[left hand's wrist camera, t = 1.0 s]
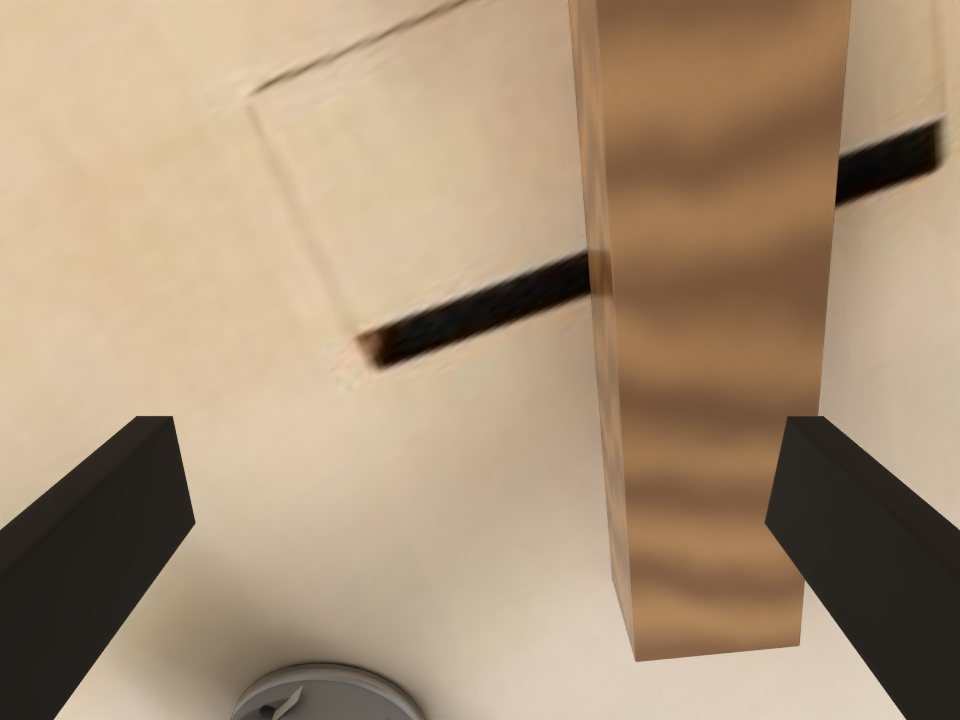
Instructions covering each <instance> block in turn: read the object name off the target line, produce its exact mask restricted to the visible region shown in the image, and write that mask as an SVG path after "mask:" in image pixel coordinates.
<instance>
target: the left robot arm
mask: <svg viewBox="0 0 960 720" xmlns="http://www.w3.org/2000/svg"><path fill="white" fill-rule="evenodd" d="M194 525H195V518H194V514H193V509H192V504H191V500H190V495H189V490H188V486H187V481H186V476H185V472H184V467H183V462H182V458H181V453H180V448H179V444H178V439H177V435H176V430H175V425H174V421H173V416H136V417H135V418H134V419H133V420H132V421H130V422H129V423H128V424H127V425H126V426H124V427H123V428H122V429H121V430H120V431H118V432H117V433H116V434H115V435H114V436H112V437H111V438H110V439H109V440H108V441H106V442H105V443H104V444H103V445H102V446H100V447H99V448H98V449H97V450H96V451H94V452H93V453H92V454H91V455H90V456H88V457H87V458H86V459H85V460H84V461H82V462H81V463H80V464H79V465H78V466H76V467H75V468H74V469H73V470H72V471H70V472H69V473H68V474H67V475H66V476H64V477H63V478H62V479H61V480H60V481H59V482H57V483H56V484H55V485H54V486H53V487H51V488H50V489H49V490H48V491H47V492H45V493H44V494H43V495H42V496H41V497H39V498H38V499H37V500H36V501H35V502H33V503H32V504H31V505H30V506H29V507H27V508H26V509H25V510H24V511H23V512H21V513H20V514H19V515H18V516H17V517H15V518H14V519H13V520H12V521H11V522H9V523H8V524H7V525H6V526H5V527H3V528H2V529H1V530H0V720H54V718H55V717H56V716H57V714H58V713H59V712H60V710H61V709H62V707H63V706H64V705H65V703H66V702H67V700H68V699H69V698H70V696H71V695H72V694H73V692H74V691H75V689H76V688H77V687H78V685H79V684H80V682H81V681H82V680H83V678H84V677H85V676H86V674H87V673H88V671H89V670H90V669H91V667H92V666H93V664H94V663H95V662H96V660H97V659H98V658H99V656H100V655H101V653H102V652H103V651H104V649H105V648H106V646H107V645H108V644H109V642H110V641H111V640H112V638H113V637H114V635H115V634H116V633H117V631H118V630H119V628H120V627H121V626H122V624H123V623H124V622H125V620H126V619H127V617H128V616H129V615H130V613H131V612H132V610H133V609H134V608H135V606H136V605H137V604H138V602H139V601H140V599H141V598H142V597H143V595H144V594H145V592H146V591H147V590H148V588H149V587H150V586H151V584H152V583H153V581H154V580H155V579H156V577H157V576H158V574H159V573H160V572H161V570H162V569H163V568H164V566H165V565H166V563H167V562H168V561H169V559H170V558H171V556H172V555H173V554H174V552H175V551H176V550H177V548H178V547H179V545H180V544H181V543H182V541H183V540H184V538H185V537H186V536H187V534H188V533H189V532H190V530H191V529H192V527H193V526H194ZM765 525H766V526H767V527H768V529H769V530H770V532H771V533H772V534H773V536H774V537H775V538H776V540H777V541H778V543H779V544H780V545H781V547H782V548H783V550H784V551H785V552H786V554H787V555H788V556H789V558H790V559H791V561H792V562H793V563H794V565H795V566H796V568H797V569H798V570H799V572H800V573H801V574H802V576H803V577H804V579H805V580H806V581H807V583H808V584H809V586H810V587H811V588H812V590H813V591H814V592H815V594H816V595H817V597H818V598H819V599H820V601H821V602H822V604H823V605H824V606H825V608H826V609H827V610H828V612H829V613H830V615H831V616H832V617H833V619H834V620H835V622H836V623H837V624H838V626H839V627H840V628H841V630H842V631H843V633H844V634H845V635H846V637H847V638H848V640H849V641H850V642H851V644H852V645H853V646H854V648H855V649H856V651H857V652H858V653H859V655H860V656H861V658H862V659H863V660H864V662H865V663H866V664H867V666H868V667H869V669H870V670H871V671H872V673H873V674H874V676H875V677H876V678H877V680H878V681H879V682H880V684H881V685H882V687H883V688H884V689H885V691H886V692H887V694H888V695H889V696H890V698H891V699H892V700H893V702H894V703H895V705H896V706H897V707H898V709H899V710H900V712H901V713H902V714H903V716H904V717H905V718H906V720H960V530H959V529H958V528H957V527H955V526H954V525H953V524H952V523H951V522H949V521H948V520H947V519H946V518H945V517H943V516H942V515H941V514H940V513H939V512H937V511H936V510H935V509H934V508H933V507H931V506H930V505H929V504H928V503H927V502H925V501H924V500H923V499H922V498H921V497H919V496H918V495H917V494H916V493H915V492H913V491H912V490H911V489H910V488H909V487H907V486H906V485H905V484H904V483H903V482H901V481H900V480H899V479H898V478H897V477H896V476H894V475H893V474H892V473H891V472H890V471H888V470H887V469H886V468H885V467H884V466H882V465H881V464H880V463H879V462H878V461H876V460H875V459H874V458H873V457H872V456H870V455H869V454H868V453H867V452H866V451H864V450H863V449H862V448H861V447H860V446H858V445H857V444H856V443H855V442H854V441H852V440H851V439H850V438H849V437H848V436H846V435H845V434H844V433H843V432H842V431H840V430H839V429H838V428H837V427H836V426H834V425H833V424H832V423H831V422H830V421H828V420H827V419H826V418H825V417H824V416H787V421H786V425H785V430H784V435H783V439H782V444H781V448H780V453H779V458H778V462H777V467H776V472H775V476H774V481H773V486H772V490H771V495H770V500H769V504H768V509H767V514H766V518H765ZM230 720H425V719H424V717H423V715H422V713H421V711H420V710H419V708H418V707H417V705H416V704H415V703H414V701H413V700H412V699H411V698H410V697H409V696H408V695H407V694H406V693H404V692H403V691H402V690H401V689H399V688H398V687H397V686H395V685H394V684H392V683H391V682H389V681H387V680H385V679H383V678H381V677H379V676H377V675H375V674H372V673H370V672H367V671H364V670H361V669H357V668H353V667H349V666H343V665H335V664H305V665H298V666H293V667H288V668H285V669H281V670H278V671H276V672H273V673H271V674H269V675H267V676H265V677H263V678H261V679H260V680H258V681H257V682H255V683H254V684H253V685H251V686H250V687H249V688H248V689H247V690H246V691H245V692H244V694H243V695H242V696H241V698H240V699H239V701H238V703H237V705H236V707H235V710H234V712H233V714H232V717H231V719H230Z"/></svg>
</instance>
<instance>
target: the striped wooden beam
mask: <svg viewBox="0 0 960 720" xmlns="http://www.w3.org/2000/svg"><path fill="white" fill-rule="evenodd" d="M569 10H570V24H571V37H572V50H573V63H574V77H575V90H576V103H577V116H578V130H579V143H580V156H581V169H582V183H583V196H584V209H585V222H586V236H587V249H588V262H589V275H590V289H591V302H592V315H593V328H594V342H595V355H596V368H597V381H598V395H599V408H600V421H601V434H602V448H603V461H604V474H605V487H606V501H607V514H608V527H609V540H610V554H611V567H612V580H613V583H614V587H615V590H616V594H617V598H618V601H619V605H620V608H621V612H622V615H623V619H624V623H625V626H626V630H627V633H628V637H629V640H630V644H631V647H632V651H633V655H634V658H635V661H636V662H640V661H650V660H661V659H671V658H681V657H691V656H701V655H712V654H722V653H732V652H742V651H752V650H762V649H773V648H783V647H793V646H799V645H800V632H801V620H802V608H803V595H804V583H805V579H804V577H803V576H802V574H801V573H800V572H799V570H798V569H797V568H796V566H795V565H794V563H793V562H792V561H791V559H790V558H789V556H788V555H787V554H786V552H785V551H784V550H783V548H782V547H781V545H780V544H779V543H778V541H777V540H776V538H775V537H774V536H773V534H772V533H771V532H770V530H769V529H768V527H767V526H766V525H765V518H766V514H767V509H768V504H769V500H770V495H771V490H772V486H773V481H774V476H775V472H776V467H777V462H778V458H779V453H780V448H781V444H782V439H783V435H784V430H785V425H786V421H787V416H818V408H819V396H820V383H821V371H822V358H823V346H824V334H825V321H826V309H827V296H828V284H829V271H830V259H831V246H832V234H833V222H834V209H835V197H836V184H837V172H838V159H839V147H840V134H841V122H842V109H843V97H844V85H845V72H846V60H847V47H848V35H849V22H850V10H851V0H569Z"/></svg>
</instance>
